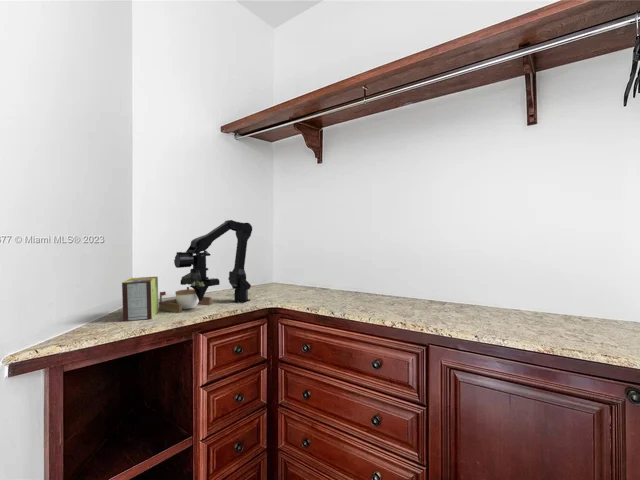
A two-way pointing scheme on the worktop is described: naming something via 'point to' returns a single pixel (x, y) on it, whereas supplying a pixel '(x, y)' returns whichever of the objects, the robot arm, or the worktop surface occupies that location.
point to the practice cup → (174, 306)
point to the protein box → (140, 298)
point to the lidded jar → (187, 298)
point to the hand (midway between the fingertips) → (200, 300)
